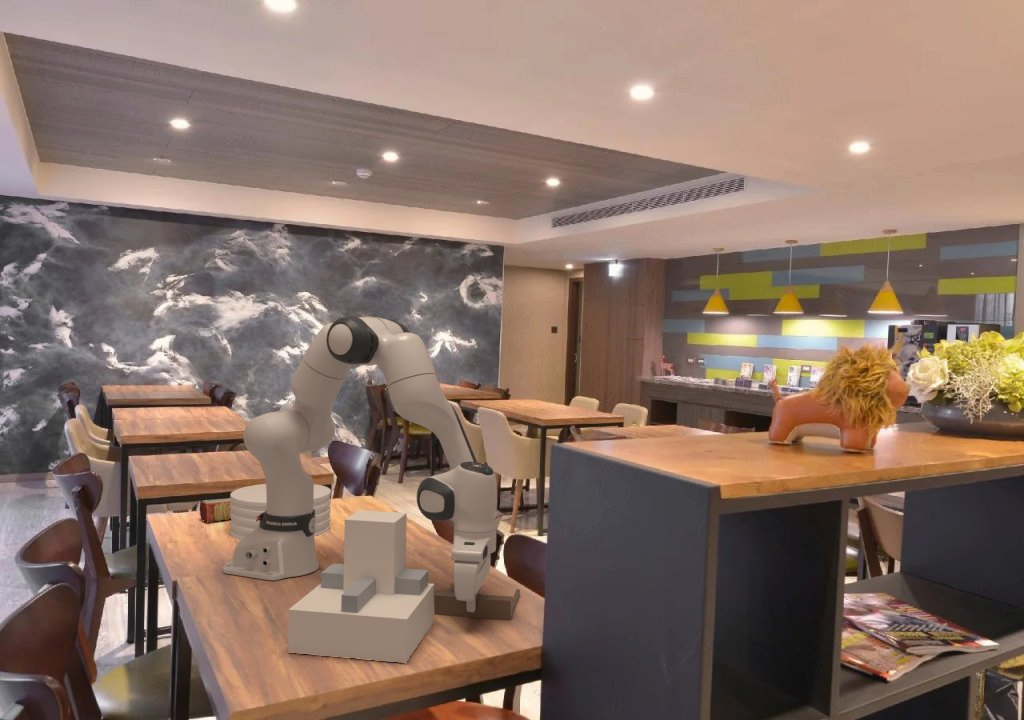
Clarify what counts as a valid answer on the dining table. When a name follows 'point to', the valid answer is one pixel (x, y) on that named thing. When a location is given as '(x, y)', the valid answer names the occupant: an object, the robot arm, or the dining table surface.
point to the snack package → (215, 510)
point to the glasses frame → (484, 605)
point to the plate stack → (253, 503)
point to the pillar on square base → (366, 597)
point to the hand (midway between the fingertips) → (473, 607)
